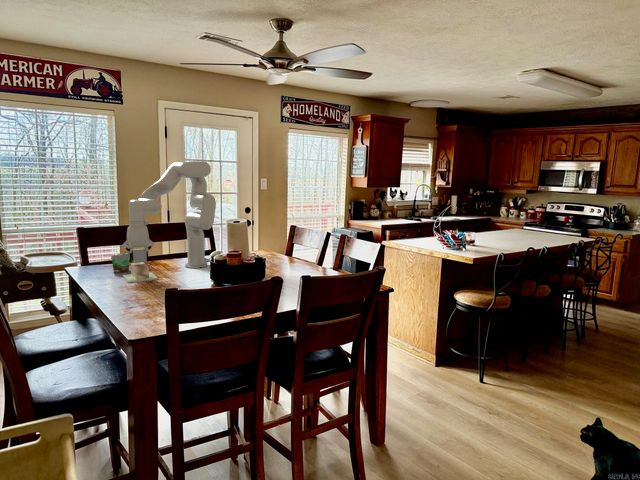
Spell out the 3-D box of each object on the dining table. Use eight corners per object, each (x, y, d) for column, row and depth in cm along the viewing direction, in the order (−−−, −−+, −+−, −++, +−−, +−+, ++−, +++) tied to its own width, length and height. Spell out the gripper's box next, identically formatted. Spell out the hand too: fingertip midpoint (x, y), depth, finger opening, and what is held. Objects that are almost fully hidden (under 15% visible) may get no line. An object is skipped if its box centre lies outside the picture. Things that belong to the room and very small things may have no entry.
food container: (122, 274, 234) (121, 255, 232) (111, 273, 235) (110, 255, 233) (136, 269, 246) (135, 251, 244) (126, 268, 247) (125, 251, 245)
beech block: (143, 273, 233) (143, 262, 232) (149, 278, 223) (148, 266, 222) (131, 274, 229) (130, 263, 228) (136, 279, 219) (135, 267, 219)
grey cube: (144, 259, 229) (143, 248, 228) (146, 262, 224) (146, 250, 223) (131, 261, 226) (131, 249, 225) (134, 263, 221) (133, 251, 220)
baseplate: (151, 273, 236) (150, 271, 236) (157, 279, 224) (157, 277, 224) (122, 276, 228) (122, 274, 228) (128, 282, 217) (128, 280, 216)
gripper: (153, 222, 230) (154, 256, 232) (117, 224, 220) (119, 259, 223) (157, 224, 224) (158, 259, 226) (120, 226, 214) (122, 262, 217)
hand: (139, 259), depth 225 cm, fingers closed on grey cube, 6 cm apart
